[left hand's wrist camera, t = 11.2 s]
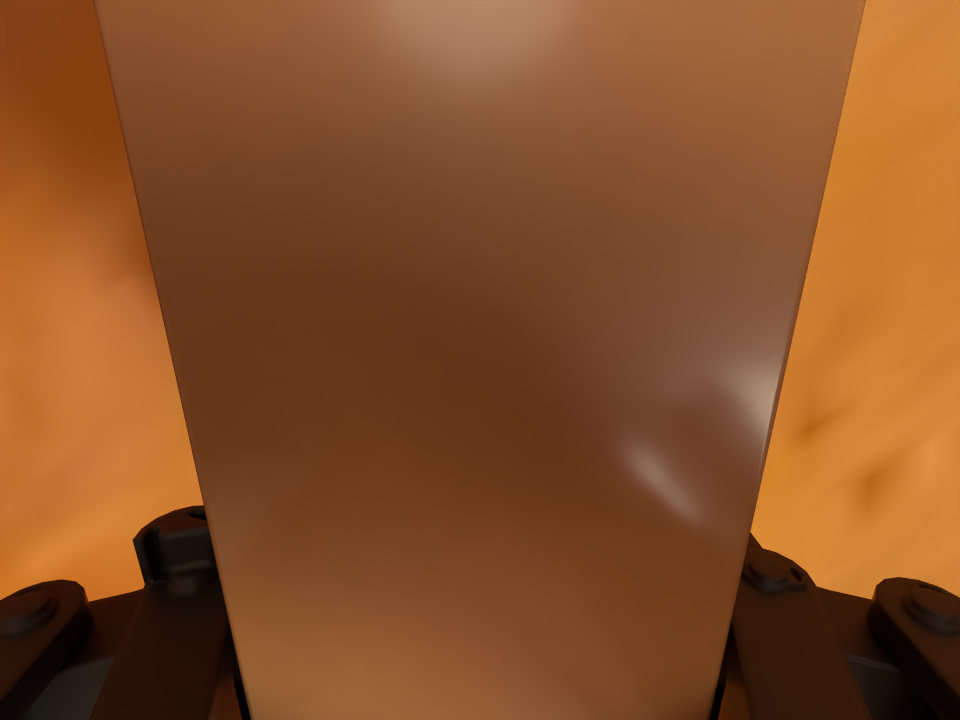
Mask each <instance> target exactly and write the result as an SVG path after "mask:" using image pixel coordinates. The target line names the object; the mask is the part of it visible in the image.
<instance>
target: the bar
mask: <svg viewBox="0 0 960 720" xmlns="http://www.w3.org/2000/svg"><path fill="white" fill-rule="evenodd" d="M93 1H94V6H95V10H96V15H97V19H98V24H99V29H100V33H101V38H102V42H103V47H104V51H105V56H106V61H107V65H108V70H109V74H110V79H111V83H112V88H113V93H114V97H115V102H116V106H117V111H118V115H119V120H120V125H121V129H122V134H123V138H124V143H125V147H126V152H127V156H128V161H129V166H130V170H131V175H132V179H133V184H134V188H135V193H136V198H137V202H138V207H139V211H140V216H141V220H142V225H143V230H144V234H145V239H146V243H147V248H148V252H149V257H150V262H151V266H152V271H153V275H154V280H155V284H156V289H157V293H158V298H159V303H160V307H161V312H162V316H163V321H164V325H165V330H166V335H167V339H168V344H169V348H170V353H171V357H172V362H173V367H174V371H175V376H176V380H177V385H178V389H179V394H180V399H181V403H182V408H183V412H184V417H185V421H186V426H187V431H188V435H189V440H190V444H191V449H192V453H193V458H194V462H195V467H196V472H197V476H198V481H199V485H200V490H201V494H202V499H203V504H204V508H205V513H206V517H207V522H208V526H209V531H210V536H211V540H212V545H213V549H214V554H215V558H216V563H217V568H218V572H219V577H220V581H221V586H222V590H223V595H224V599H225V604H226V609H227V613H228V618H229V622H230V627H231V631H232V636H233V641H234V645H235V650H236V654H237V659H238V663H239V668H240V673H241V677H242V682H243V686H244V691H245V695H246V700H247V705H248V709H249V714H250V718H251V720H709V719H710V714H711V710H712V705H713V701H714V696H715V691H716V687H717V682H718V678H719V673H720V668H721V664H722V659H723V655H724V650H725V645H726V641H727V636H728V632H729V627H730V622H731V618H732V613H733V609H734V604H735V599H736V595H737V590H738V586H739V581H740V576H741V572H742V567H743V563H744V558H745V553H746V549H747V544H748V540H749V535H750V530H751V526H752V521H753V517H754V512H755V507H756V503H757V498H758V494H759V489H760V484H761V480H762V475H763V471H764V466H765V461H766V457H767V452H768V448H769V443H770V438H771V434H772V429H773V425H774V420H775V415H776V411H777V406H778V402H779V397H780V392H781V388H782V383H783V379H784V374H785V369H786V365H787V360H788V356H789V351H790V346H791V342H792V337H793V333H794V328H795V323H796V319H797V314H798V310H799V305H800V300H801V296H802V291H803V287H804V282H805V277H806V273H807V268H808V264H809V259H810V254H811V250H812V245H813V241H814V236H815V231H816V227H817V222H818V218H819V213H820V208H821V204H822V199H823V195H824V190H825V185H826V181H827V176H828V172H829V167H830V162H831V158H832V153H833V149H834V144H835V139H836V135H837V130H838V126H839V121H840V116H841V112H842V107H843V103H844V98H845V93H846V89H847V84H848V80H849V75H850V70H851V66H852V61H853V57H854V52H855V47H856V43H857V38H858V34H859V29H860V24H861V20H862V15H863V11H864V6H865V1H866V0H93Z"/></svg>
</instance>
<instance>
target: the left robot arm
mask: <svg viewBox="0 0 960 720" xmlns="http://www.w3.org/2000/svg"><path fill="white" fill-rule="evenodd" d="M133 543H134V547H135V550H136V554H137V558H138V561H139V565H140V568H141V572H142V575H143V579H144V583H145V586H144V588H143V589H141V590H137V591H134V592H130V593H126V594H121V595H117V596H112V597H108V598H104V599H99V600H95V601H90V602H88V599H87V596H86V593H85V590H84V588H83V587H82V586H81V585H80V584H78V583H77V582H76V581H69V580H54V581H48V582H42V583H39V584H36V585H32V586H30V587H26V588H24V589H21V590H19V591H17V592H15V593H13V594H11V595H9V596H7V597H6V598H4V599H2V600H0V720H251V718H250V714H249V709H248V705H247V700H246V695H245V691H244V686H243V682H242V677H241V673H240V668H239V663H238V659H237V654H236V650H235V645H234V641H233V636H232V631H231V627H230V622H229V618H228V613H227V609H226V604H225V599H224V595H223V590H222V586H221V581H220V577H219V572H218V568H217V563H216V558H215V554H214V549H213V545H212V540H211V536H210V531H209V526H208V522H207V517H206V513H205V508H204V505H202V506H190V507H186V508H182V509H178V510H174V511H172V512H170V513H167V514H165V515H163V516H161V517H158V518H156V519H155V520H153V521H152V522H150V523H149V524H148V525H146V526H145V527H143V528H142V529H141V530H140V531H139V533H138V534H137V535H136V536H135V538H134V539H133ZM709 720H960V598H959V597H958V596H956V595H954V594H952V593H950V592H948V591H946V590H944V589H942V588H940V587H938V586H935V585H933V584H929V583H926V582H923V581H920V580H915V579H908V578H902V577H896V578H889V579H884V580H883V581H881V582H880V583H879V584H878V585H877V586H876V588H875V591H874V594H873V597H872V600H871V599H866V598H862V597H858V596H853V595H849V594H844V593H840V592H835V591H831V590H827V589H824V588H820V587H817V586H816V585H815V583H814V582H813V580H812V579H811V577H810V576H809V575H808V573H807V572H806V571H805V570H804V569H802V568H801V567H800V566H799V565H797V564H796V563H795V562H794V561H792V560H790V559H788V558H786V557H784V556H782V555H780V554H778V553H776V552H773V551H770V550H766V549H763V548H762V547H761V546H760V544H759V543H758V542H757V540H756V539H755V538H754V536H753V535H752V534H751V532H750V535H749V540H748V544H747V549H746V553H745V558H744V563H743V567H742V572H741V576H740V581H739V586H738V590H737V595H736V599H735V604H734V609H733V613H732V618H731V622H730V627H729V632H728V636H727V641H726V645H725V650H724V655H723V659H722V664H721V668H720V673H719V678H718V682H717V687H716V691H715V696H714V701H713V705H712V710H711V714H710V719H709Z"/></svg>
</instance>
